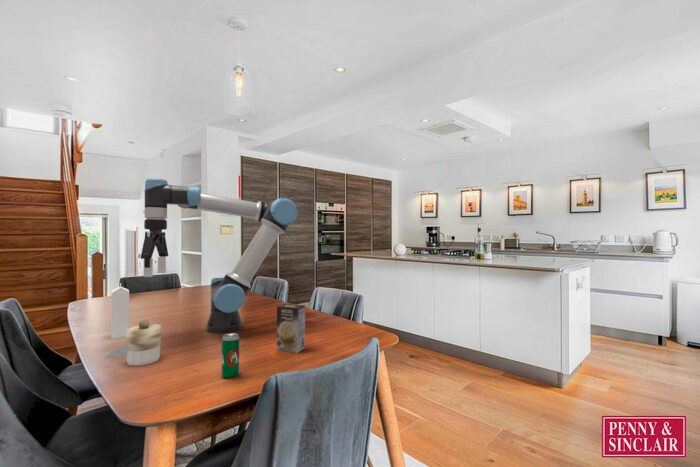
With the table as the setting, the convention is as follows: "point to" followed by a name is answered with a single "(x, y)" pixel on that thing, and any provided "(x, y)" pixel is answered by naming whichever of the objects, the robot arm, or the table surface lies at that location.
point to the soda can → (230, 355)
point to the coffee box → (290, 327)
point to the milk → (119, 312)
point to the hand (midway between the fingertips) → (155, 274)
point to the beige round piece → (143, 336)
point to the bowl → (143, 356)
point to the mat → (118, 352)
